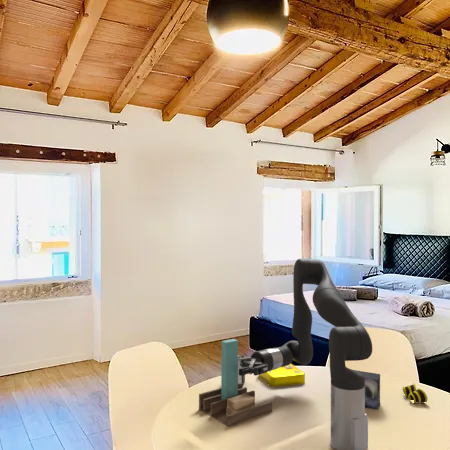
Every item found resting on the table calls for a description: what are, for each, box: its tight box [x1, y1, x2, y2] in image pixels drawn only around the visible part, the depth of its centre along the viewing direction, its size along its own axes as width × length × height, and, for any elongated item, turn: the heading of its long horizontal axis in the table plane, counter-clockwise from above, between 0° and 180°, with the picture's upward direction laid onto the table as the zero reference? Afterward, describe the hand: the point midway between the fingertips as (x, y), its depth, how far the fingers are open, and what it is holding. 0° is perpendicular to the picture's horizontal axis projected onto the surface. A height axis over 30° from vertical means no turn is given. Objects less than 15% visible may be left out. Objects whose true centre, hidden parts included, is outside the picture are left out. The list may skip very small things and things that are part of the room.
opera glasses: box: [402, 383, 428, 404], centre depth 157 cm, size 10×5×5 cm, turn 0°
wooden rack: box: [198, 382, 273, 427], centre depth 143 cm, size 16×18×6 cm
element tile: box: [258, 363, 306, 388], centre depth 177 cm, size 15×15×5 cm
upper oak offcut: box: [227, 394, 256, 412], centre depth 140 cm, size 5×8×2 cm, turn 128°
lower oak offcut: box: [226, 403, 257, 415], centre depth 140 cm, size 5×9×2 cm, turn 128°
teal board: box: [220, 338, 239, 400], centre depth 146 cm, size 2×5×22 cm, turn 128°
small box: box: [354, 369, 381, 410], centre depth 153 cm, size 11×6×10 cm, turn 62°
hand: (231, 369), depth 146 cm, fingers open, 8 cm apart
